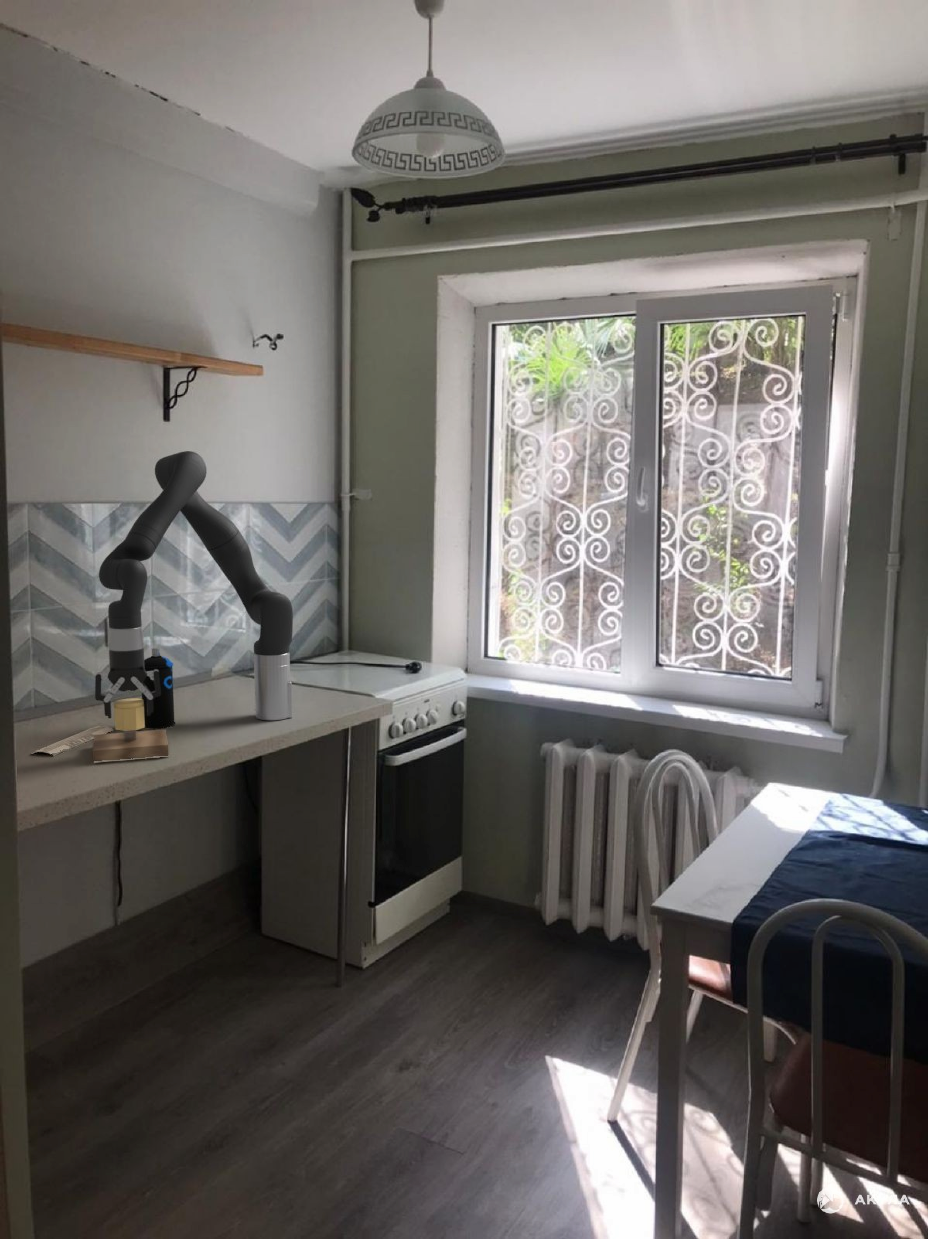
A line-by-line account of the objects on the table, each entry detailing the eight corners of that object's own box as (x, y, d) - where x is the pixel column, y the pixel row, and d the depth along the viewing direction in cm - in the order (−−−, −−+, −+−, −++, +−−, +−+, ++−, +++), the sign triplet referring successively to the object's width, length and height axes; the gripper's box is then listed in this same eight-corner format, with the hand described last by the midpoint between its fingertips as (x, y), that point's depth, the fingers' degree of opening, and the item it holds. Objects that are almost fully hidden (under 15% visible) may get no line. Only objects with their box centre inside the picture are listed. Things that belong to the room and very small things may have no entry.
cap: (144, 722, 233) (143, 697, 232) (145, 729, 227) (144, 703, 226) (115, 724, 231) (114, 699, 230) (115, 731, 225) (114, 705, 224)
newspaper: (92, 732, 250) (92, 725, 250) (117, 734, 248) (117, 727, 248) (30, 758, 227) (30, 750, 227) (57, 760, 226) (57, 752, 225)
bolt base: (165, 741, 239) (164, 696, 237) (168, 757, 226) (166, 710, 224) (94, 747, 234) (92, 701, 232) (93, 763, 220) (90, 715, 219)
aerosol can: (141, 730, 249) (137, 651, 246) (142, 722, 257) (139, 645, 254) (175, 728, 251) (172, 650, 249) (175, 720, 259) (172, 644, 256)
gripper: (158, 642, 232) (161, 710, 234) (93, 645, 227) (96, 714, 230) (159, 647, 225) (162, 717, 227) (92, 651, 220) (95, 722, 223)
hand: (129, 716), depth 228 cm, fingers open, 8 cm apart
